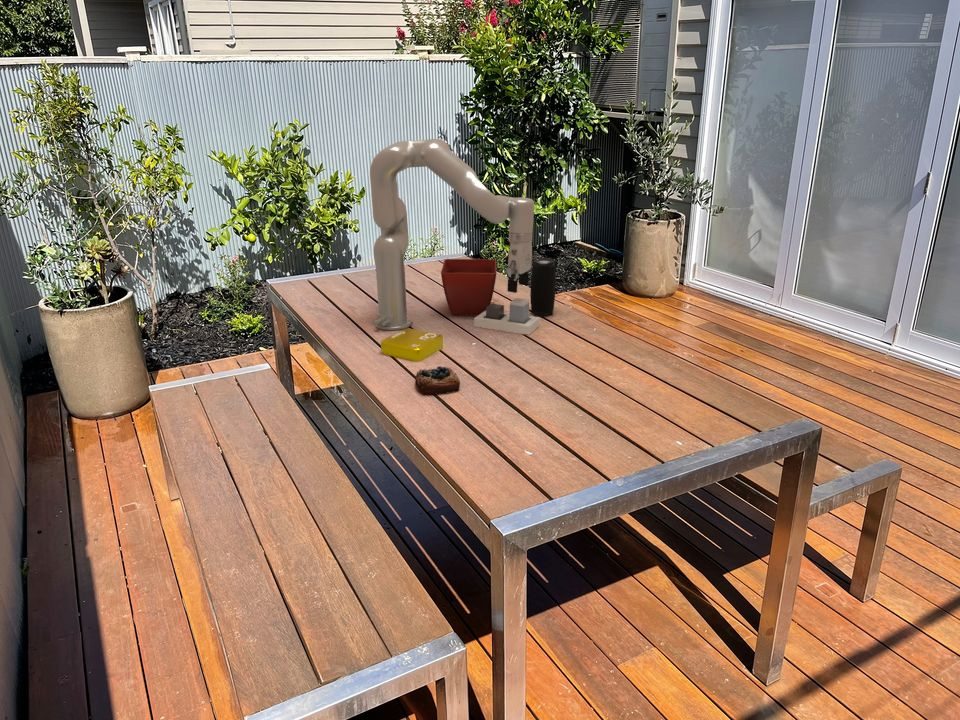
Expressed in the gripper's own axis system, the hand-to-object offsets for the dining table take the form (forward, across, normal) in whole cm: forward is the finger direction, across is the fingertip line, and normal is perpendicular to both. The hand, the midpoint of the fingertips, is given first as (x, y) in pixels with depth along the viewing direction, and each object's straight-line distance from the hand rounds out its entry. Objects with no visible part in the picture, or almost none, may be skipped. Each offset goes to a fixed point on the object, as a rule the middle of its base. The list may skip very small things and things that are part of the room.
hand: (517, 288), depth 233 cm
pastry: (+15, -54, +1) cm, 56 cm away
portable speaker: (+14, +18, -3) cm, 23 cm away
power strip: (+14, +4, +3) cm, 15 cm away
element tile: (+16, -32, +21) cm, 42 cm away
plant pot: (+15, +10, +22) cm, 29 cm away
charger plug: (+13, 0, -1) cm, 13 cm away
